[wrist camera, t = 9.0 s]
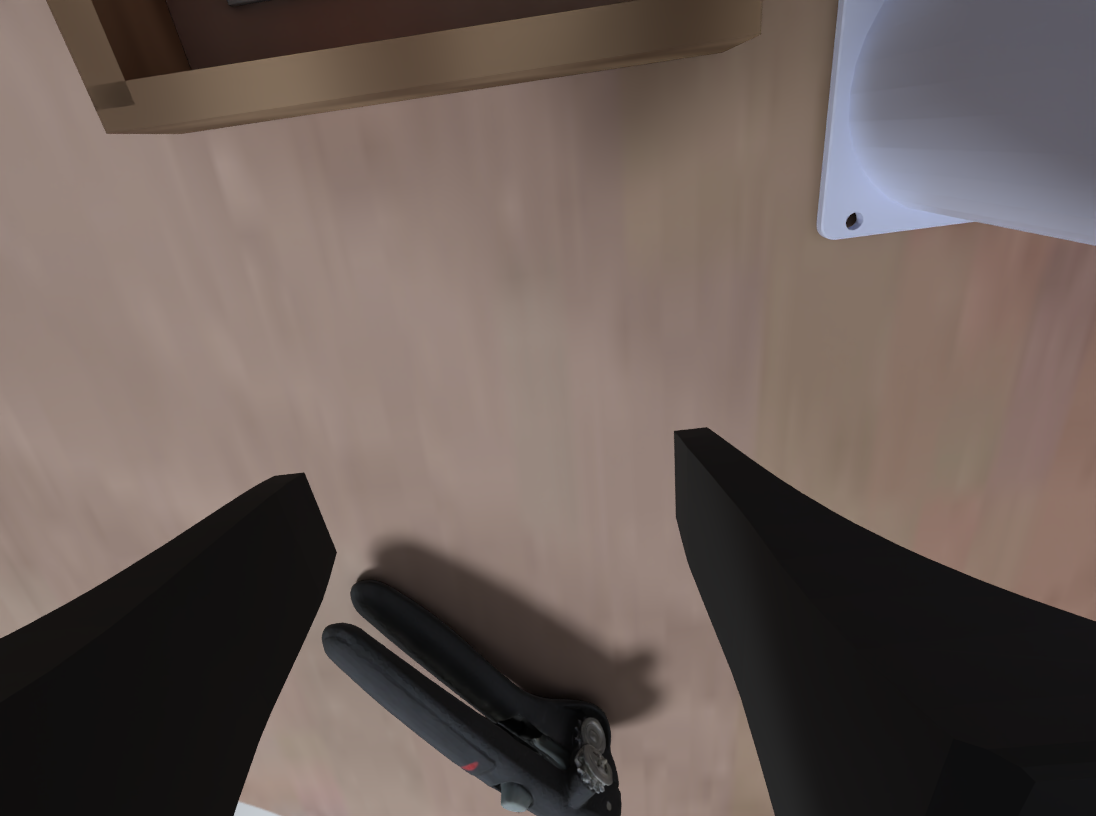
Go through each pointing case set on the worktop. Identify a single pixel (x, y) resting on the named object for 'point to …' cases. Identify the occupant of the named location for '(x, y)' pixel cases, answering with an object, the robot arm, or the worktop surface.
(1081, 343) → the worktop surface
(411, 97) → the arena
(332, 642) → the can opener
